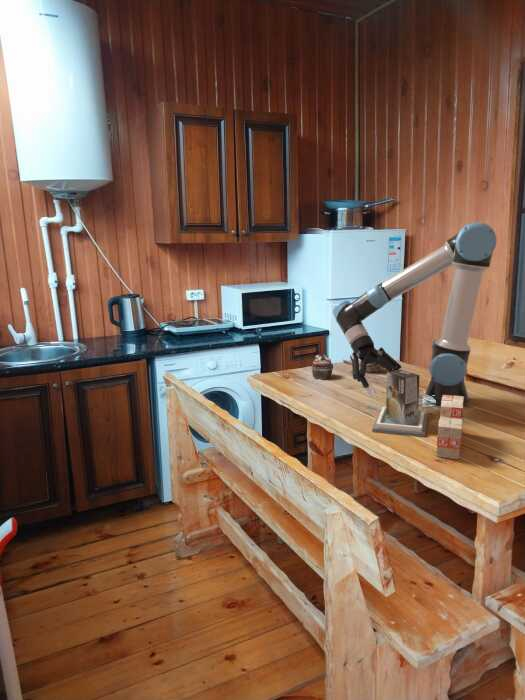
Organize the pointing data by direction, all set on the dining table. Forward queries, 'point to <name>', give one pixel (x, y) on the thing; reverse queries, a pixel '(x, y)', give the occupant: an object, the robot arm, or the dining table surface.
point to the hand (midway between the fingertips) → (388, 391)
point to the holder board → (400, 425)
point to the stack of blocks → (450, 427)
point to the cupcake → (322, 367)
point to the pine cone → (368, 366)
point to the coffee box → (402, 397)
